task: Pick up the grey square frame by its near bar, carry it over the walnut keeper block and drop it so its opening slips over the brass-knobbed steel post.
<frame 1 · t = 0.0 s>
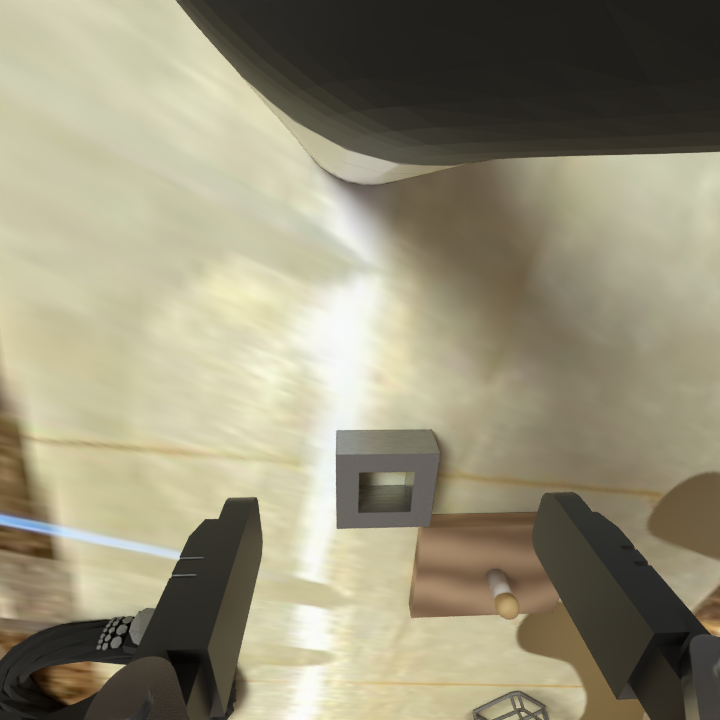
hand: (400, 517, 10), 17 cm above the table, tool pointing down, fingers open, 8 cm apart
keeper block: (489, 560, 38), on the table
black studded ring: (131, 670, 45), on the table
grey square frame: (382, 467, 31), on the table
geometric lantern: (502, 706, 52), on the table
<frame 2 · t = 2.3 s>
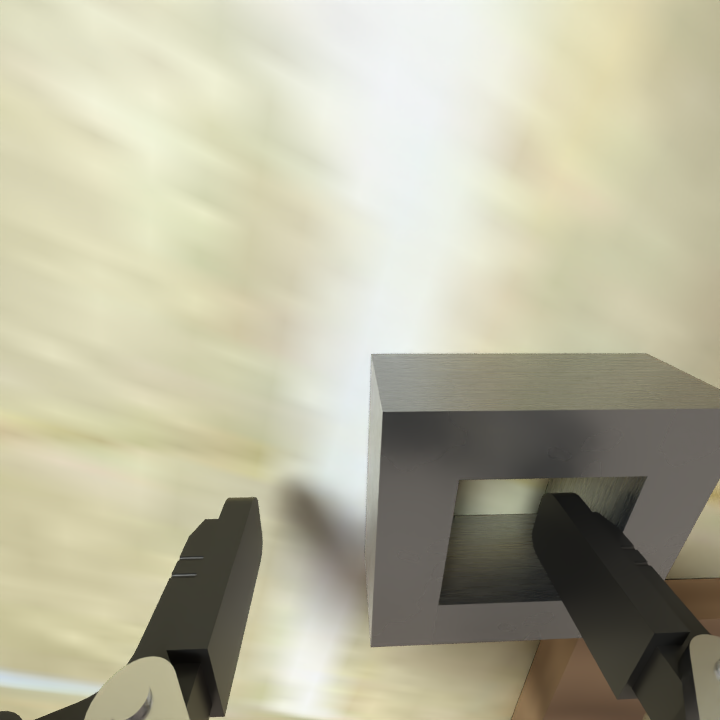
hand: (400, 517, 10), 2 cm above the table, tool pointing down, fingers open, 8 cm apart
keeper block: (684, 672, 17), on the table
grey square frame: (488, 465, 12), on the table, touching gripper
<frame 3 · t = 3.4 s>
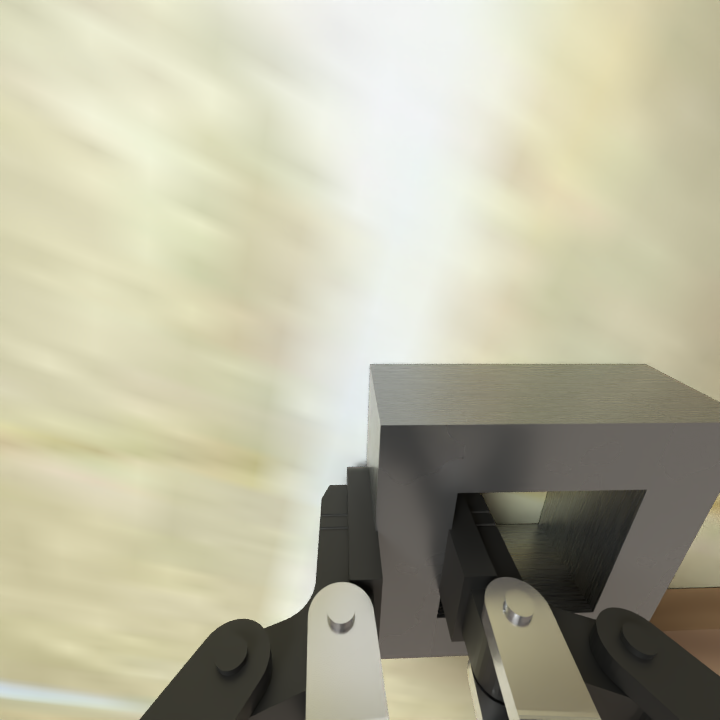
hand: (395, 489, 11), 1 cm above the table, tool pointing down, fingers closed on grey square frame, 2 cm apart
keeper block: (685, 681, 17), on the table
grey square frame: (487, 475, 12), on the table, touching gripper
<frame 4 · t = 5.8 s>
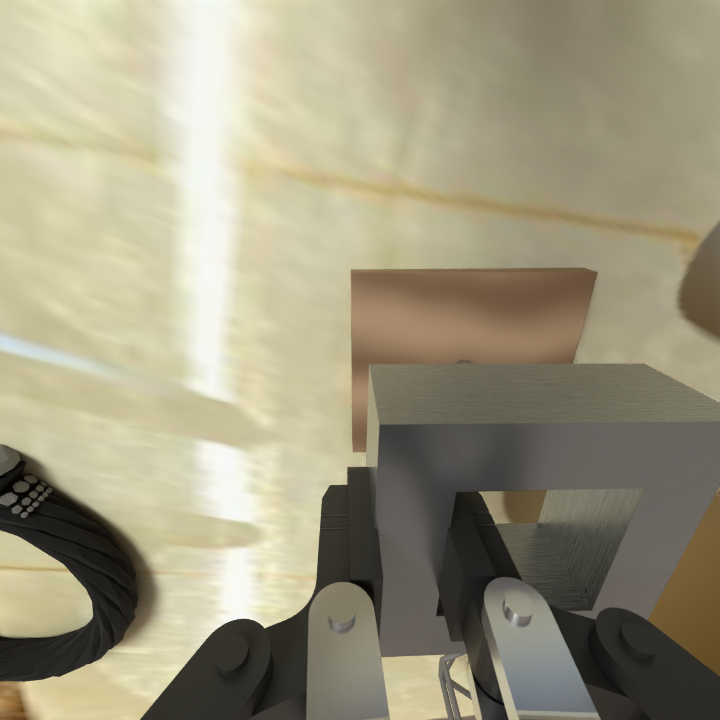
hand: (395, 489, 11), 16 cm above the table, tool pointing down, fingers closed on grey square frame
keeper block: (456, 362, 27), on the table
grey square frame: (486, 475, 12), point 15 cm above the table, touching gripper
geometric lantern: (491, 617, 41), on the table
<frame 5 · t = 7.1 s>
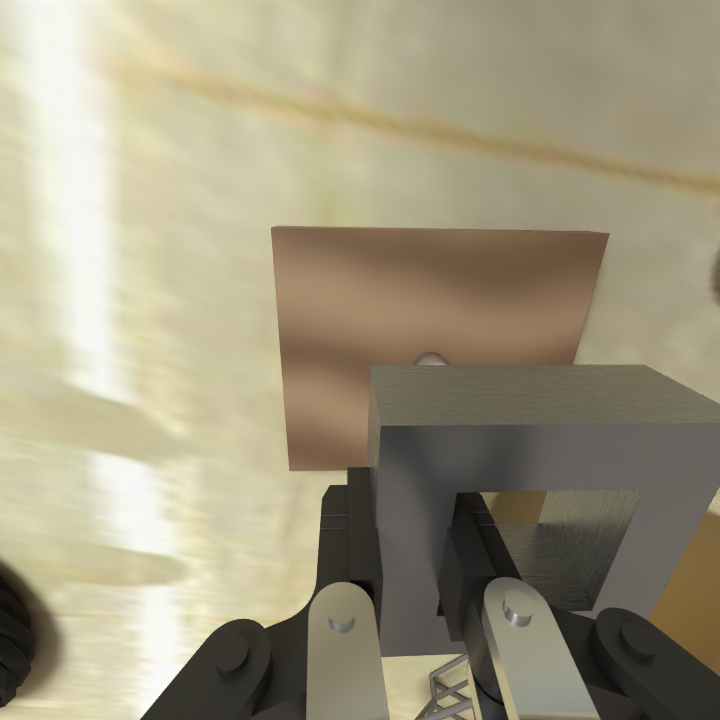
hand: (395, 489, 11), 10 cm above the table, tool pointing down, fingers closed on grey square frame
keeper block: (423, 356, 21), on the table
grey square frame: (487, 475, 12), point 10 cm above the table, touching gripper
geometric lantern: (474, 668, 34), on the table
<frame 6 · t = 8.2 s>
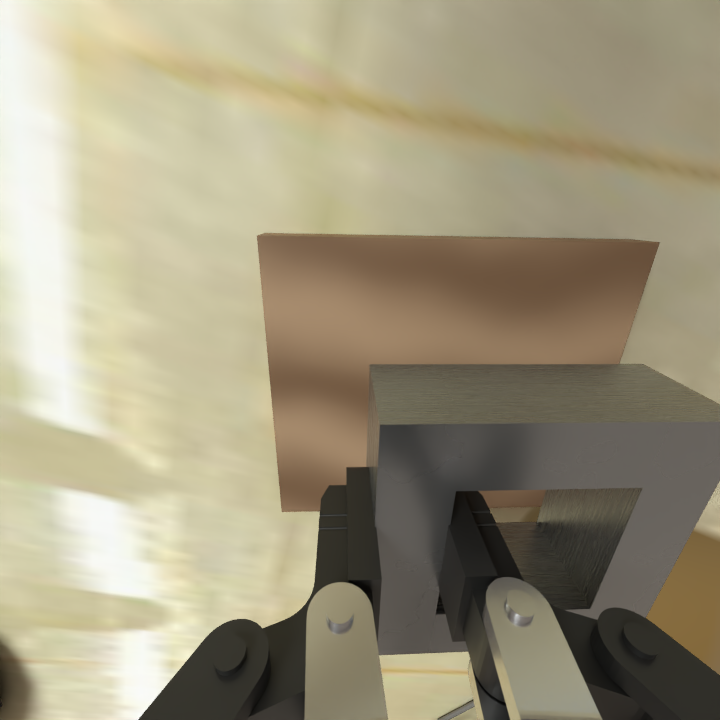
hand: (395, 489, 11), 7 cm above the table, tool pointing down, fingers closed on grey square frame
keeper block: (436, 381, 18), on the table
grey square frame: (486, 474, 12), point 7 cm above the table, touching gripper
geometric lantern: (486, 712, 32), on the table
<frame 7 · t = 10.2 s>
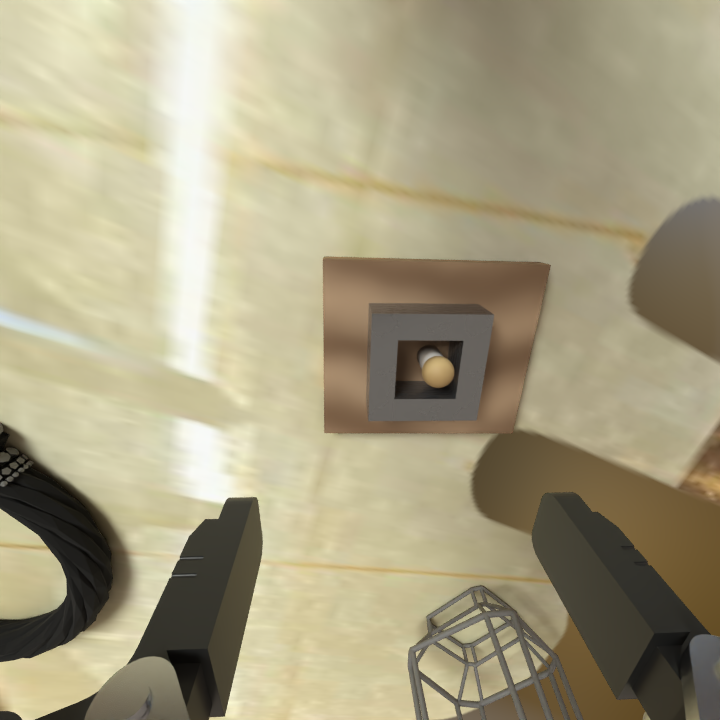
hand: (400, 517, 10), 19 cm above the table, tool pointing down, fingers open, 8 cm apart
keeper block: (424, 349, 29), on the table
grey square frame: (419, 354, 27), point 1 cm above the table, touching keeper block
geometric lantern: (463, 612, 42), on the table
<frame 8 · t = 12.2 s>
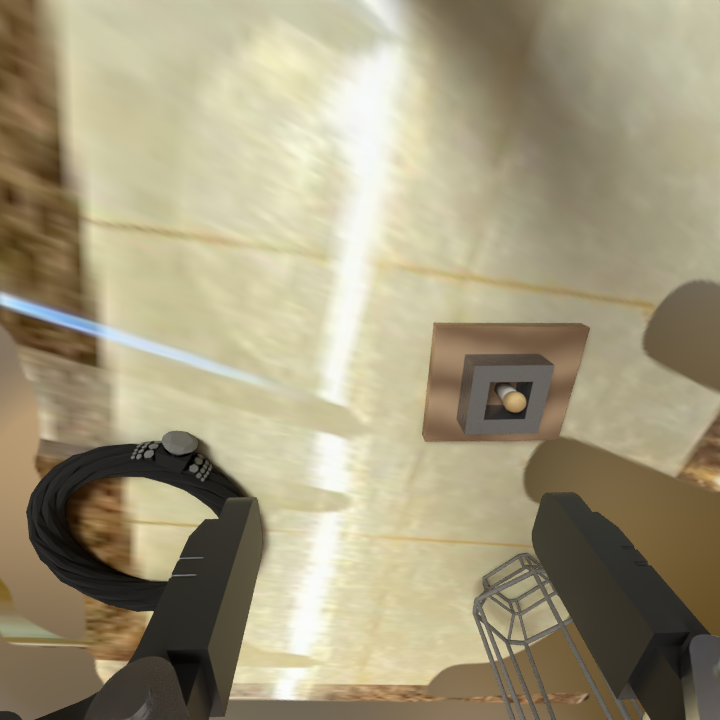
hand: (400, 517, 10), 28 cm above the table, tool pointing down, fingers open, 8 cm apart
keeper block: (497, 381, 41), on the table
black studded ring: (158, 516, 47), on the table
grey square frame: (496, 387, 39), point 1 cm above the table, touching keeper block
geometric lantern: (510, 574, 54), on the table
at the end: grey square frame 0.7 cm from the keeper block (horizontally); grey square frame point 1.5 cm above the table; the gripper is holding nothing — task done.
